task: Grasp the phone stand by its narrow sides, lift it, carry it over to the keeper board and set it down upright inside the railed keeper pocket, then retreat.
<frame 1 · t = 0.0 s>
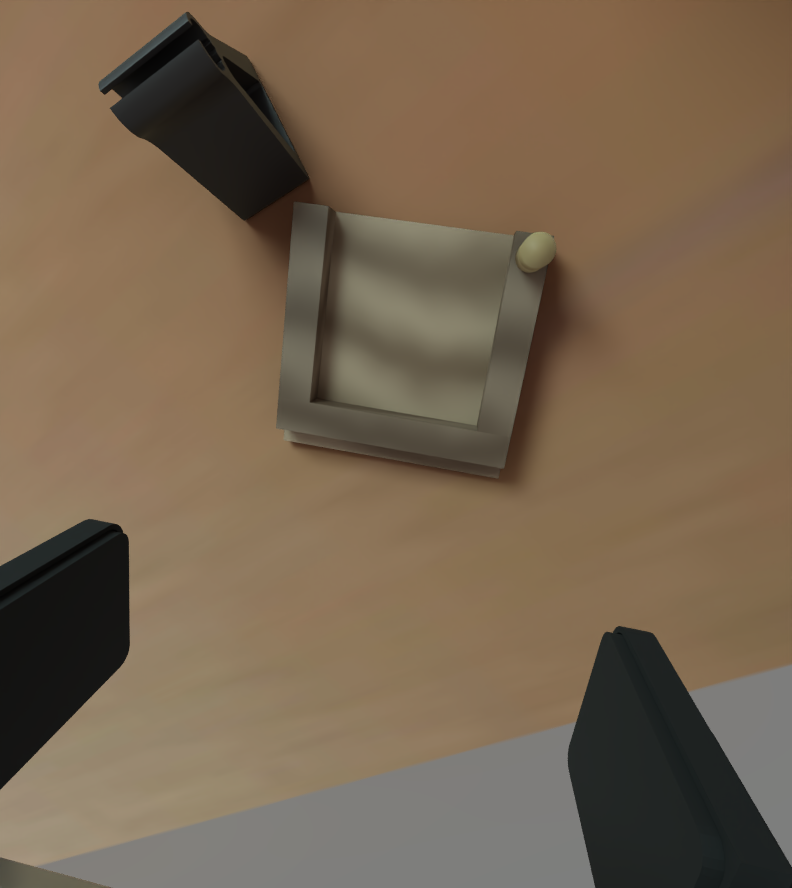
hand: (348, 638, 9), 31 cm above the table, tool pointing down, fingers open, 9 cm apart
phone stand: (248, 144, 37), on the table
keeper board: (406, 347, 39), on the table
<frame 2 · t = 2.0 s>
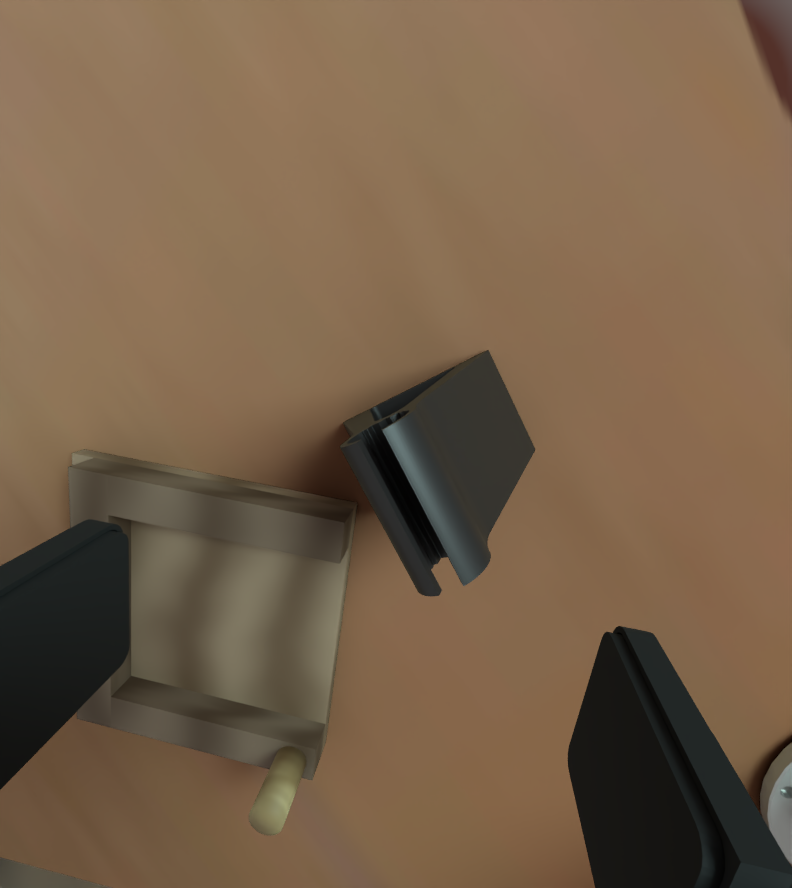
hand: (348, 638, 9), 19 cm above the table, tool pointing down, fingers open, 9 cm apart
phone stand: (437, 433, 28), on the table
keeper board: (210, 601, 33), on the table
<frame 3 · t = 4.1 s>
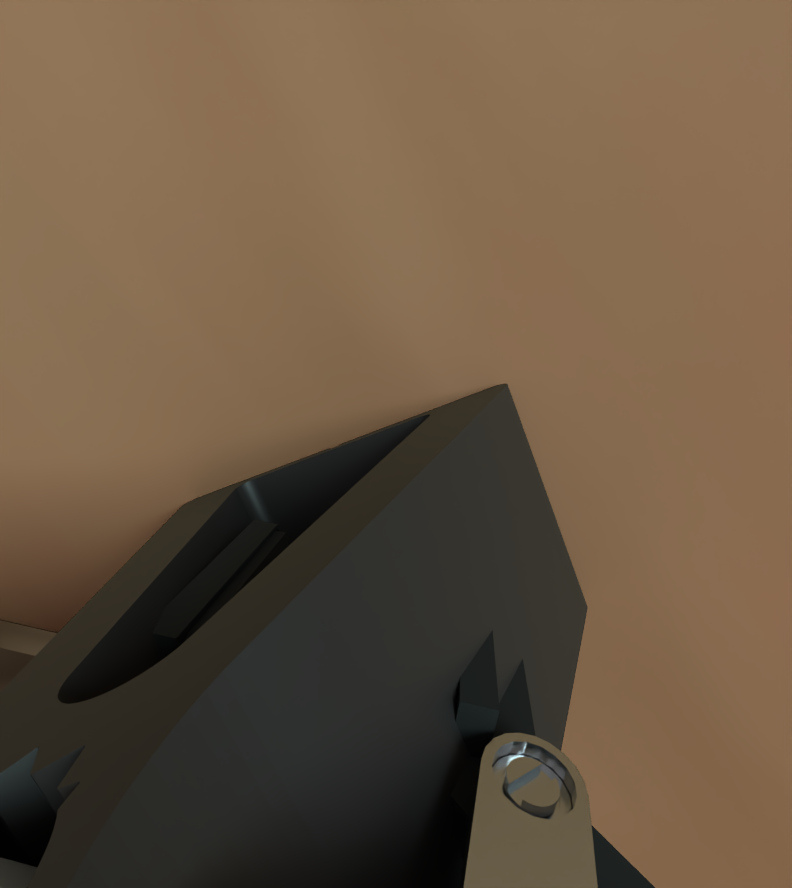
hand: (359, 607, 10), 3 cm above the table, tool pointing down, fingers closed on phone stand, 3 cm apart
phone stand: (381, 543, 13), on the table, touching gripper
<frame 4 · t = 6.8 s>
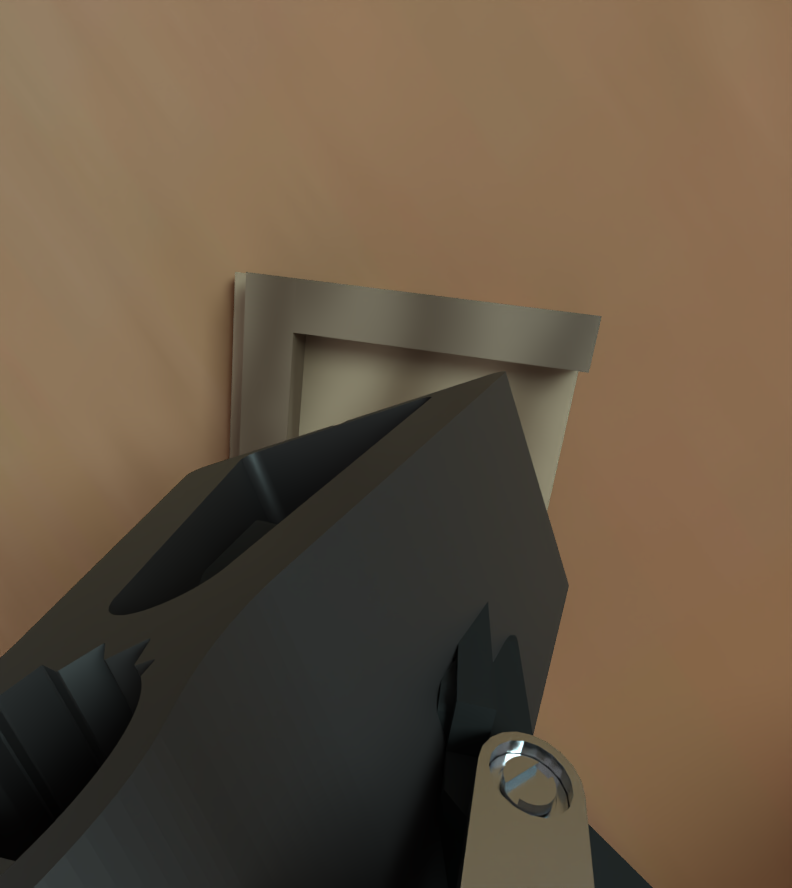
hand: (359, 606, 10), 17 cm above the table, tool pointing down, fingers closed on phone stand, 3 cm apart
phone stand: (377, 519, 14), point 14 cm above the table, touching gripper
keeper board: (388, 458, 28), on the table
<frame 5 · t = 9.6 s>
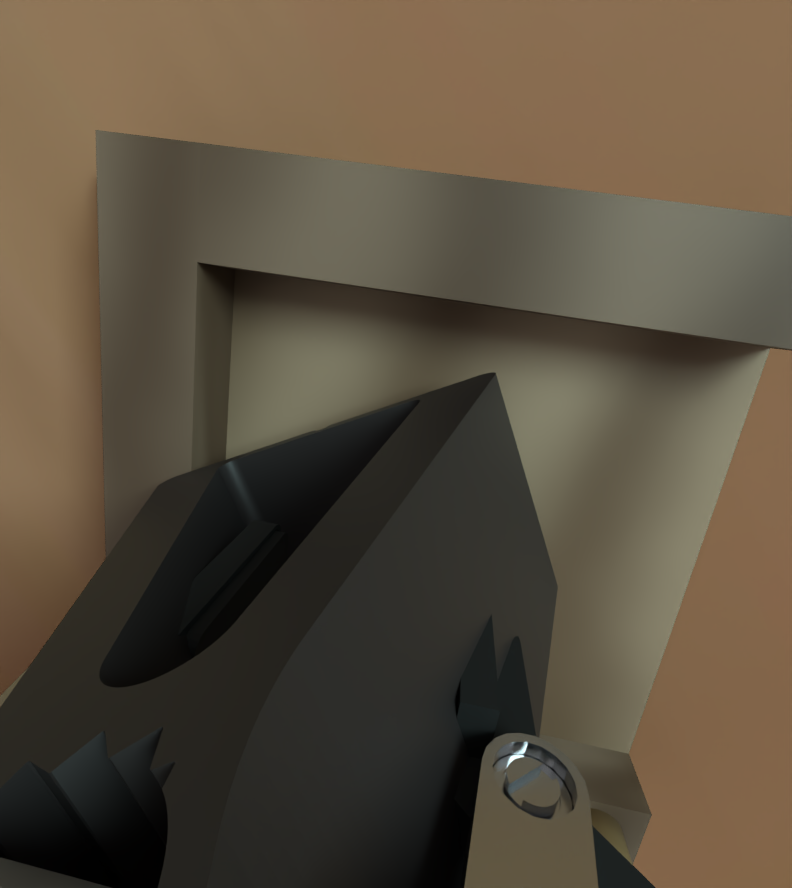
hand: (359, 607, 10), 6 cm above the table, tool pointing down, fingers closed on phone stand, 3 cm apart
phone stand: (363, 525, 13), point 2 cm above the table, touching gripper, keeper board
keeper board: (386, 506, 16), on the table
when the fingers open (6 cm above the table, at t = 9.7 s): phone stand drops 2 cm, resting on keeper board.
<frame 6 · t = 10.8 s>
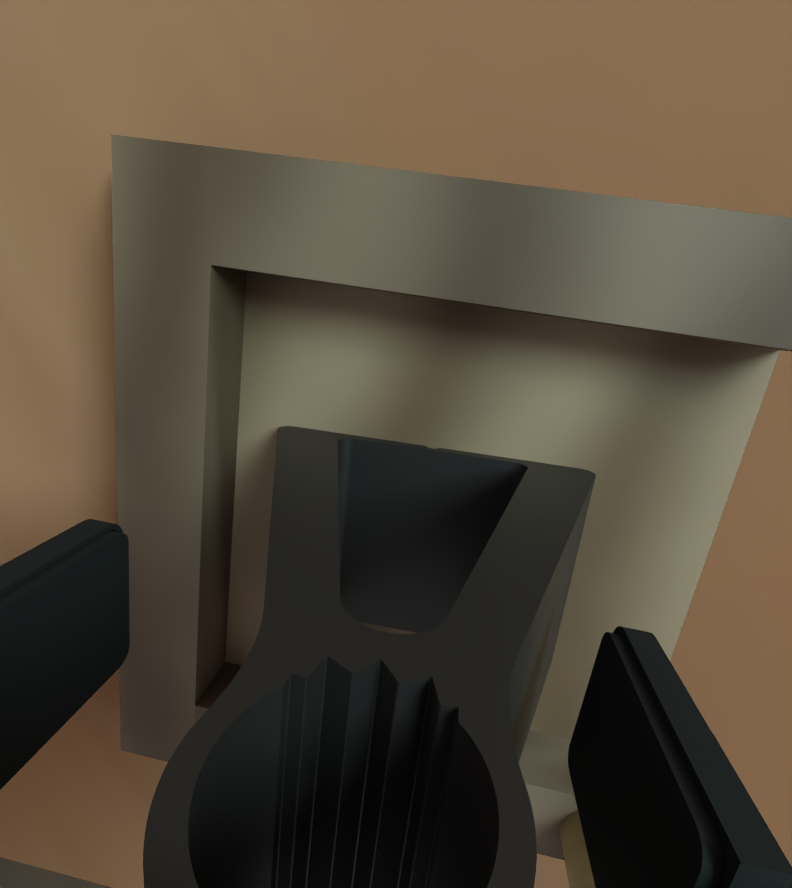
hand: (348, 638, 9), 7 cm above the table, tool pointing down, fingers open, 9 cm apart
phone stand: (420, 536, 15), point 1 cm above the table, touching keeper board
keeper board: (395, 506, 16), on the table
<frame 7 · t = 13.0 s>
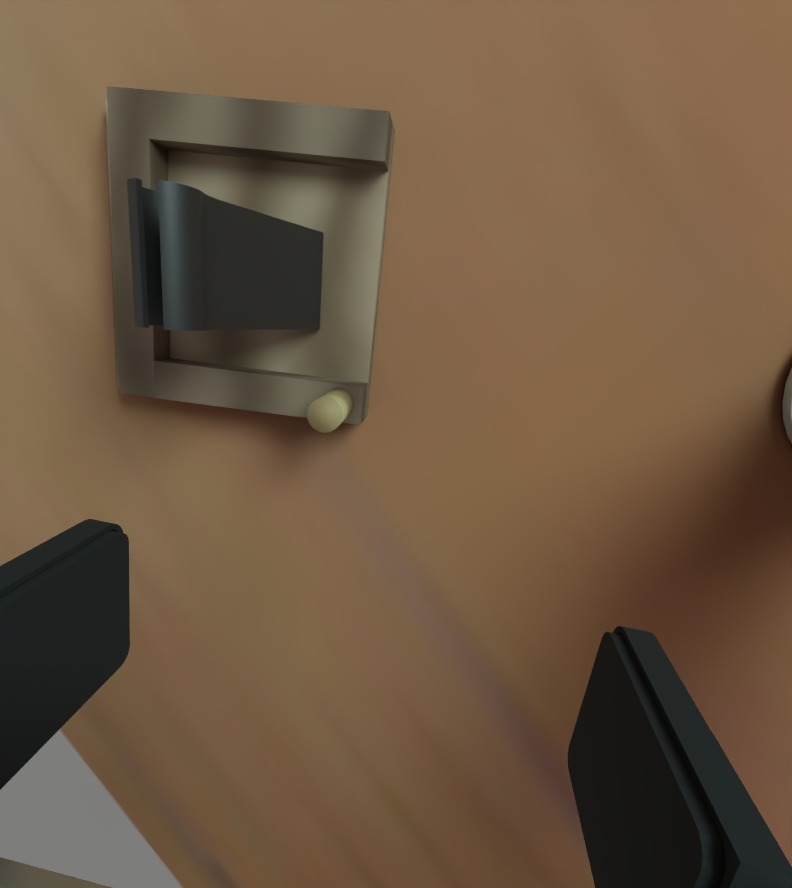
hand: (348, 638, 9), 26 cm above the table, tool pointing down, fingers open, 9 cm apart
phone stand: (257, 277, 32), point 1 cm above the table, touching keeper board
keeper board: (248, 269, 33), on the table
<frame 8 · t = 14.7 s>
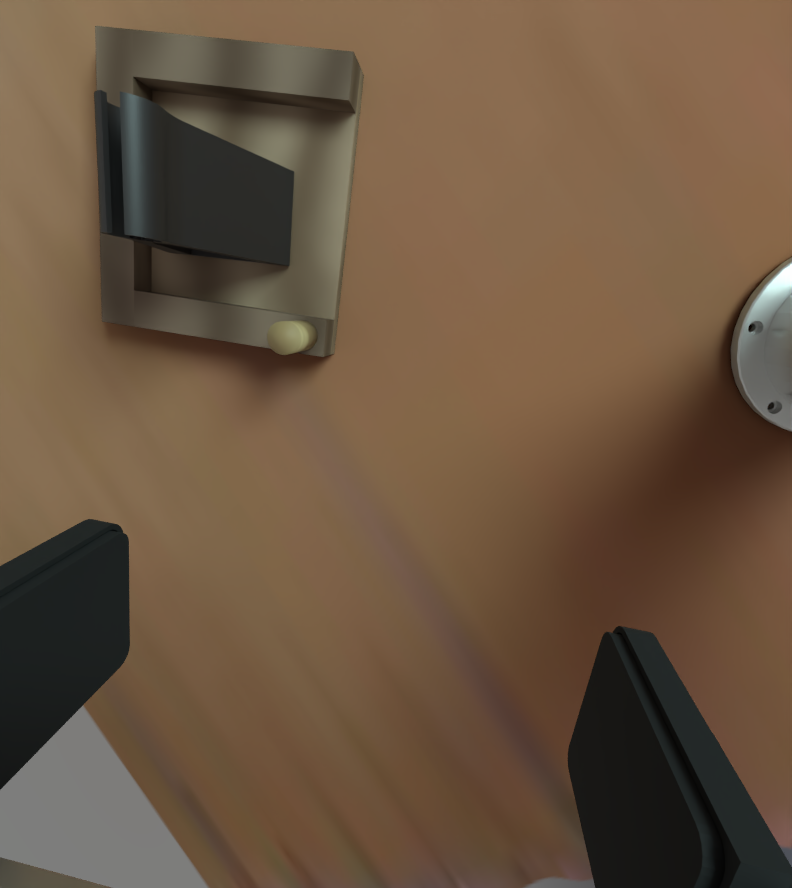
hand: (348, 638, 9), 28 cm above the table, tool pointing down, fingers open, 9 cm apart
phone stand: (232, 215, 34), point 1 cm above the table, touching keeper board
keeper board: (225, 208, 35), on the table
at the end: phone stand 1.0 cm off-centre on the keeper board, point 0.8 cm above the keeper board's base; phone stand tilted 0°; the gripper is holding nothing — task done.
